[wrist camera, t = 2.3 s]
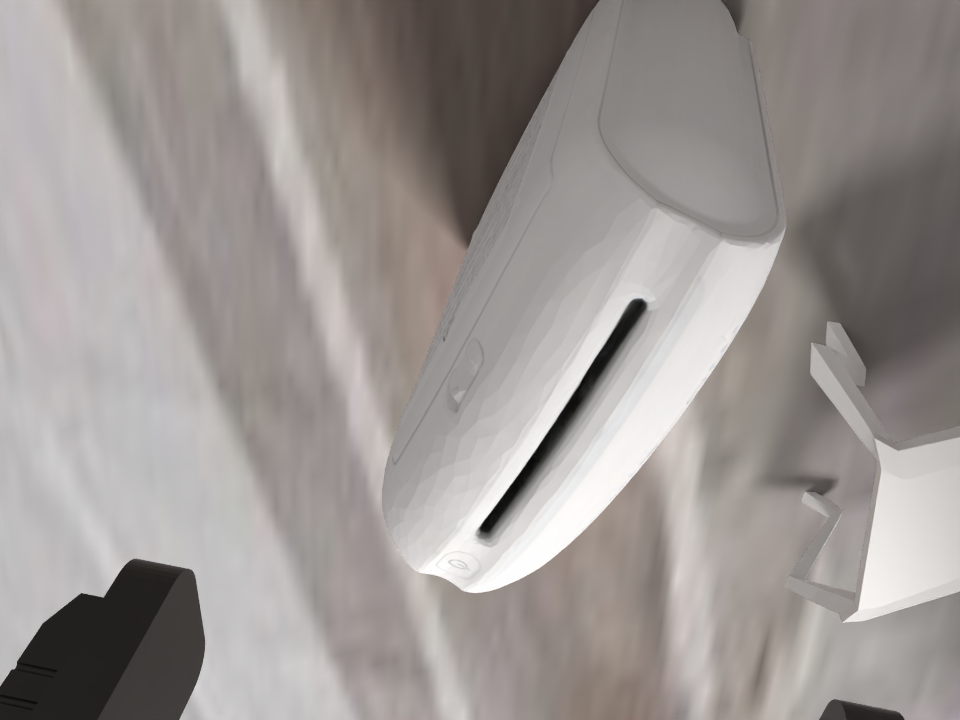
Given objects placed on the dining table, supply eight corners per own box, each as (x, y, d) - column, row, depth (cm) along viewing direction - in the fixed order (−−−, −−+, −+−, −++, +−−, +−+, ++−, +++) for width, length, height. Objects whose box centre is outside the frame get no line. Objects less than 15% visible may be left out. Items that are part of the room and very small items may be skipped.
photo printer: (576, 331, 28) (519, 678, 18) (449, 269, 27) (318, 591, 17) (779, 22, 22) (862, 288, 12) (620, -65, 21) (568, 137, 11)
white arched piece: (842, 201, 24) (874, 299, 20) (1161, 275, 24) (1257, 389, 20) (702, 513, 31) (705, 629, 27) (945, 573, 31) (984, 699, 27)
